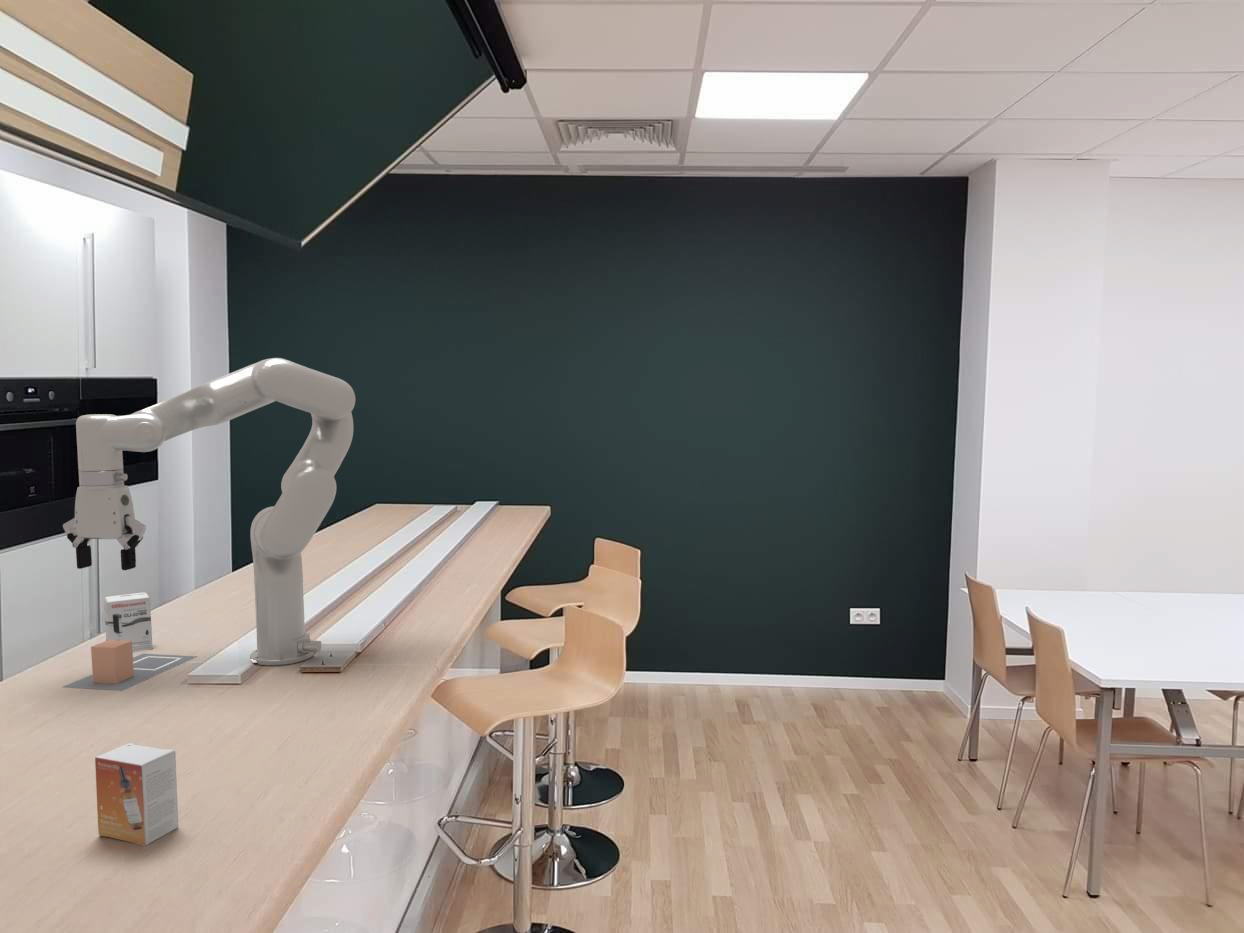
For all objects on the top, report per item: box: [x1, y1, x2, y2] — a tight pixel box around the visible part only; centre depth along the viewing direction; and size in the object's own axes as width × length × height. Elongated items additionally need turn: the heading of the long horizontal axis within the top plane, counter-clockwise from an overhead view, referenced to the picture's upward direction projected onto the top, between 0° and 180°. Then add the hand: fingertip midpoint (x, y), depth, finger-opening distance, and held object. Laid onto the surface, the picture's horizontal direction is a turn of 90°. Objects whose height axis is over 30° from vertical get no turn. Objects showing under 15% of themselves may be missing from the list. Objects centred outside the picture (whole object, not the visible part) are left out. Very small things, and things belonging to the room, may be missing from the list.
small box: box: [94, 742, 179, 847], centre depth 127 cm, size 8×6×10 cm
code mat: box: [62, 653, 198, 692], centre depth 197 cm, size 13×23×1 cm, turn 168°
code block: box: [90, 640, 134, 684], centre depth 191 cm, size 5×5×7 cm
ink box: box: [103, 591, 153, 652], centre depth 213 cm, size 8×5×12 cm, turn 123°
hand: (106, 568), depth 189 cm, fingers open, 9 cm apart
